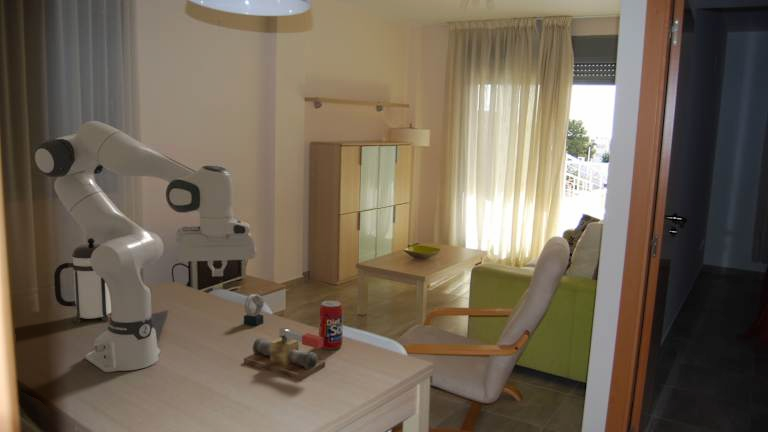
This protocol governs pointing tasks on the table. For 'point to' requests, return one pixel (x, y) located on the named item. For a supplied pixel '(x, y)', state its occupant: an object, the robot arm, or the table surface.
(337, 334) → the soda can
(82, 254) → the coffee press
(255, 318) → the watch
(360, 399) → the table surface
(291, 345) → the valve mount
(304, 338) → the valve lever
